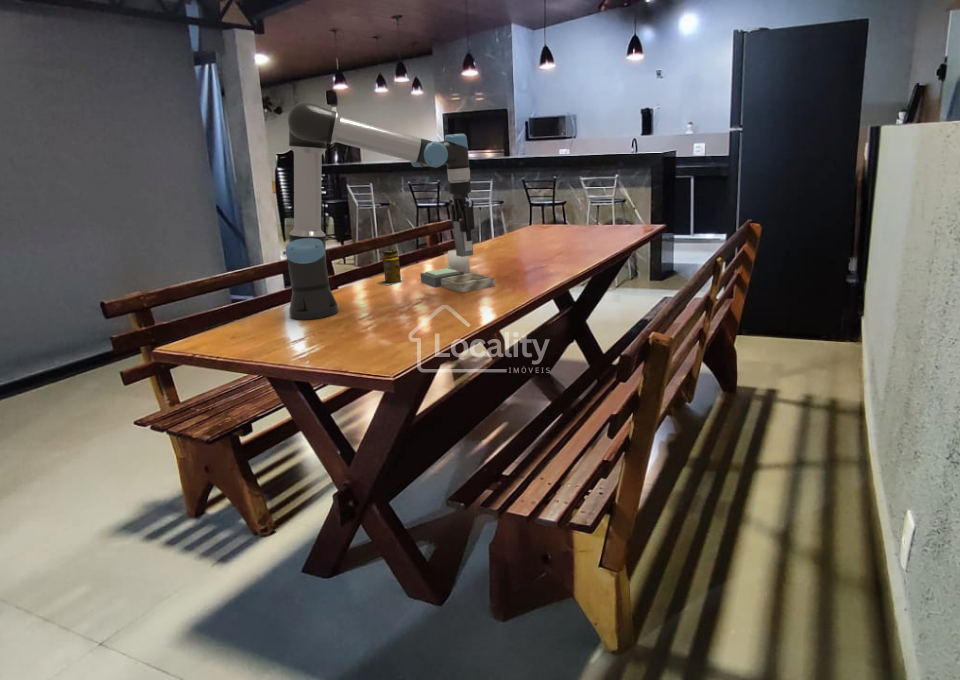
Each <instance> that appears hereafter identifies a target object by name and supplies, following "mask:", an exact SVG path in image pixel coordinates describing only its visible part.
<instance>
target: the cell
mask: <svg viewBox="0 0 960 680" xmlns="http://www.w3.org/2000/svg"><path fill="white" fill-rule="evenodd" d="M453 222H454V228H453V231H454V242H455V243H454V244H455V250H456V256H461V257H465V256H469V257H470V256H473V255H474V248H473V247H474V246H473V243H472V248H473V250H469V251H465V247H464V235H463V231H464V226H463V220H462V218H460V219H459V221H453ZM472 232H473V230H472V231H471V236H472V237H473V233H472Z"/></svg>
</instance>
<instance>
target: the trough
mask: <svg viewBox="0 0 960 680" xmlns="http://www.w3.org/2000/svg"><path fill="white" fill-rule="evenodd" d="M495 285H496V284H495V277H493V276H489V275H485V274H481V273H477V272H470V273H469V274H464V275H458V276H453V277H447V278H441V286H440V287H441V288H443V287H444V288H445V289H447V290H450V291H451V292H452V291H453V292H456V293H459V294H460V293H461V292H462V293H466V292H472V291H476V290H481V289H482V290H483V289H487V288H492V287H495Z"/></svg>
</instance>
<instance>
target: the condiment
mask: <svg viewBox="0 0 960 680" xmlns="http://www.w3.org/2000/svg"><path fill="white" fill-rule="evenodd" d="M382 254H383V255H382V256H383V259H382V263H383V272H384V279H385V280H383V281H379V282H377V284H380V285H384V286H385V285H386V286H390V285H395V284H398V283H403V282H405V280H402V278H401V277H402V276H401V268H400V265H401V264H400V258H399V256H398V250H397V249H388V250H384V251H383V252H382Z"/></svg>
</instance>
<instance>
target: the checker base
mask: <svg viewBox="0 0 960 680" xmlns="http://www.w3.org/2000/svg"><path fill="white" fill-rule="evenodd" d="M445 268H449V269H450V266H449V265H447V266H445ZM452 270H453V269H452ZM426 272H427V271H425V272H420V282H421V284H423V285H424V284H425V285H428V286H430V287H433V288H439V287H441V278H447V277H453V276H458V275H464V270H459V271H458V273H454V274H449V275H443V276H438V277H435V276H432V275H429V274H426Z"/></svg>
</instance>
